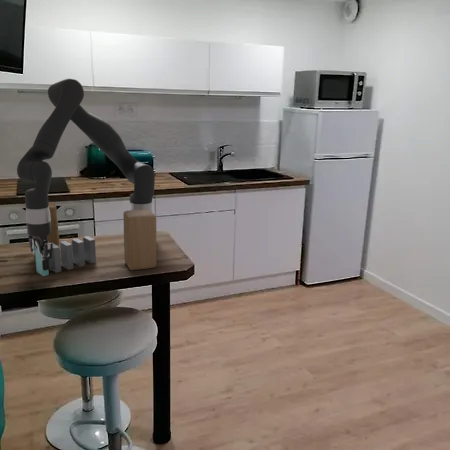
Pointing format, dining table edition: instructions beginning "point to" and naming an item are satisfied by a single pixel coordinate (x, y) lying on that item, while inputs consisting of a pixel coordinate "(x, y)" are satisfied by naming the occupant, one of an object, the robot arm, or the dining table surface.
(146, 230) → the wooden block
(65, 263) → the domino
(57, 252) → the domino
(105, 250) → the dining table surface
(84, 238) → the domino
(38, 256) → the domino
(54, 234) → the block
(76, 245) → the domino
